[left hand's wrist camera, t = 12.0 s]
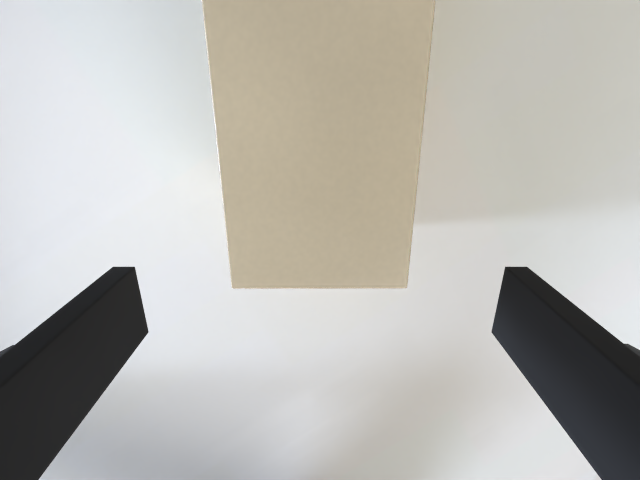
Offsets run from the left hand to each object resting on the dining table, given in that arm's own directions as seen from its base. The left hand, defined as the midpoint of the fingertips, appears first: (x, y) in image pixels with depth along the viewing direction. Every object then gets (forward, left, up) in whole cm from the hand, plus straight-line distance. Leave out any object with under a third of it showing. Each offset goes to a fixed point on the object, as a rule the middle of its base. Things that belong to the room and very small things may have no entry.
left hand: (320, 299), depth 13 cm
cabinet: (+7, -1, -18) cm, 19 cm away
